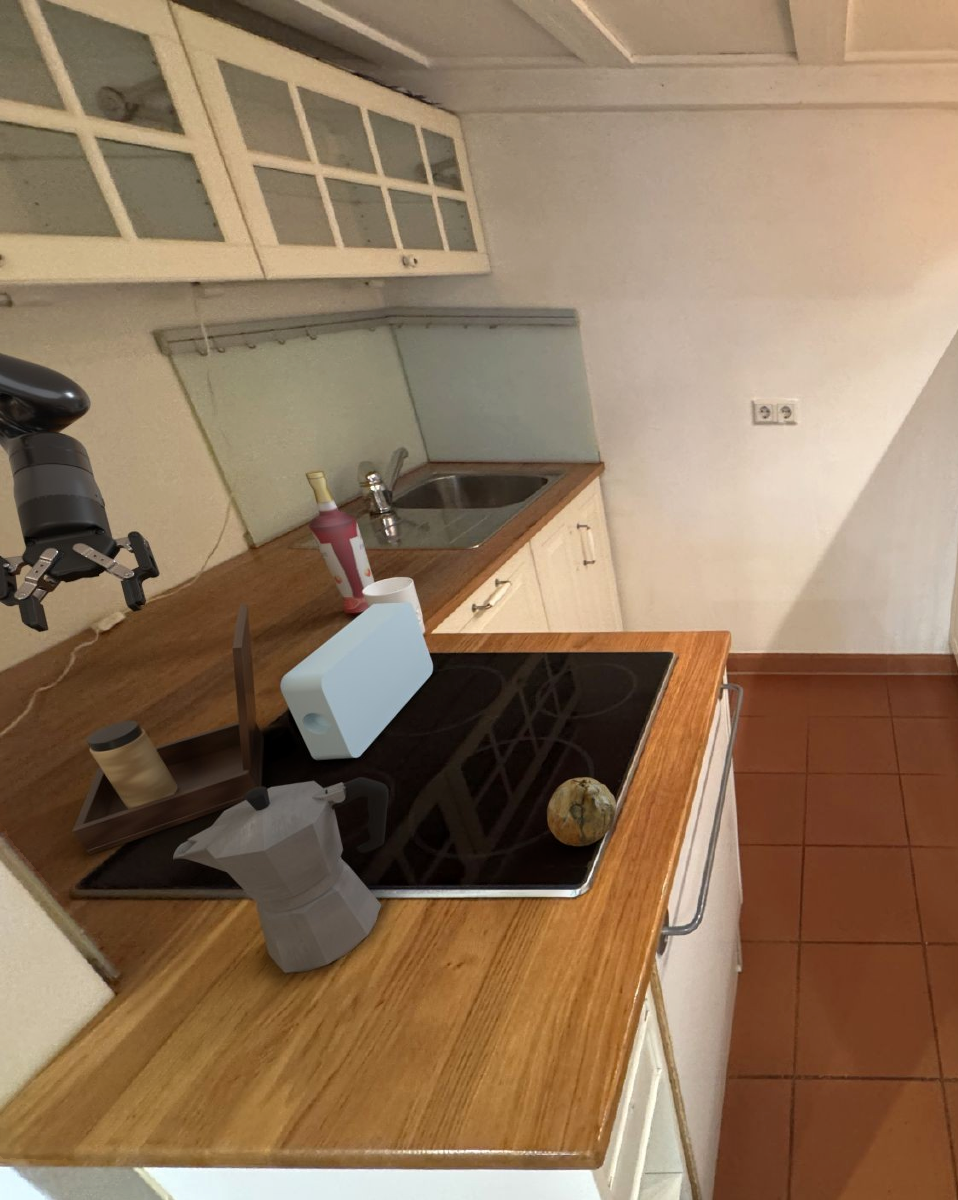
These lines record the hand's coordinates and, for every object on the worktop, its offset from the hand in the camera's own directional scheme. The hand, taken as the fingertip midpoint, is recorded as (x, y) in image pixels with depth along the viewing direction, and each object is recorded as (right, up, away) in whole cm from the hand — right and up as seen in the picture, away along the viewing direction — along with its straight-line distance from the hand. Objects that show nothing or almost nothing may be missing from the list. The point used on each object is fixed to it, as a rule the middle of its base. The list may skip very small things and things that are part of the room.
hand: (88, 618), depth 81 cm
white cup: (+15, -4, +39) cm, 42 cm away
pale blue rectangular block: (+25, -15, +17) cm, 34 cm away
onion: (+64, -25, -6) cm, 69 cm away
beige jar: (+7, -22, 0) cm, 24 cm away
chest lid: (+17, -9, +2) cm, 19 cm away
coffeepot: (+43, -30, -16) cm, 55 cm away
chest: (+10, -22, +2) cm, 24 cm away
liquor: (+1, 0, +49) cm, 49 cm away
